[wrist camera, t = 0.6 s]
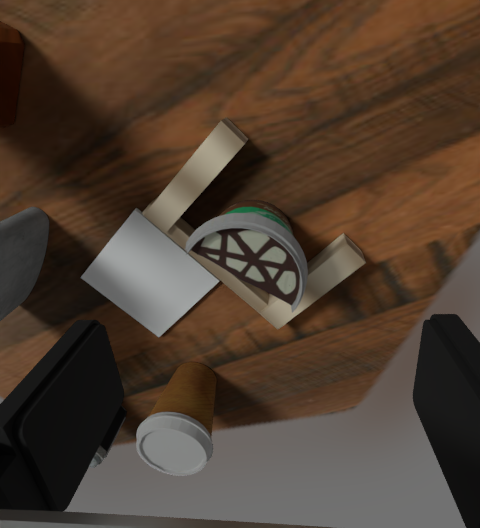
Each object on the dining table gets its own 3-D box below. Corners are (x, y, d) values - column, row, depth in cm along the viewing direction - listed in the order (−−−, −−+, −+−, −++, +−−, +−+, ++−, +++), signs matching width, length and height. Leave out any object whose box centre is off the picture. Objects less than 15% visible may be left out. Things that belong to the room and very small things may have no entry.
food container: (327, 224, 39) (337, 266, 31) (296, 266, 42) (297, 315, 33) (230, 167, 38) (210, 193, 29) (204, 214, 41) (180, 251, 32)
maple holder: (224, 115, 36) (218, 118, 33) (363, 252, 40) (367, 264, 38) (149, 206, 41) (139, 215, 39) (278, 317, 46) (277, 332, 43)
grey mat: (136, 207, 42) (134, 209, 41) (220, 278, 44) (219, 281, 44) (82, 275, 47) (80, 277, 46) (160, 334, 50) (158, 337, 49)
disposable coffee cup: (152, 363, 53) (116, 435, 42) (207, 345, 50) (184, 417, 39) (185, 407, 56) (160, 483, 45) (238, 392, 53) (225, 470, 42)
